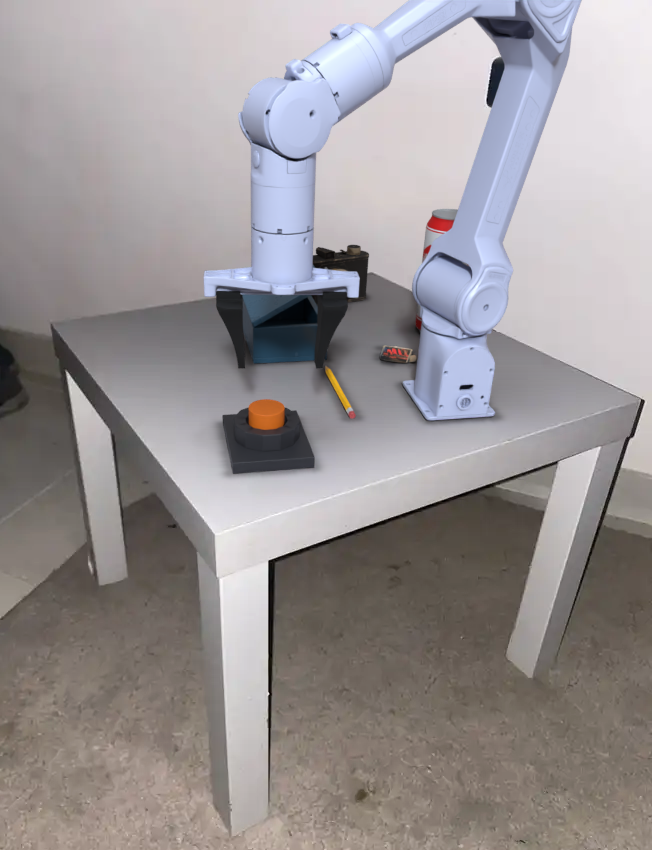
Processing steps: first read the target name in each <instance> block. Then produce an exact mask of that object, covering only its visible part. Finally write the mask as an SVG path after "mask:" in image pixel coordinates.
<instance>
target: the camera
mask: <svg viewBox="0 0 652 850" xmlns="http://www.w3.org/2000/svg"><path fill="white" fill-rule="evenodd" d="M361 248H362V246H361V245H358V244H348V245H347V246H346V250H344V249H339V251H337V252H336V251H335V250H332V249H329V248H326V247H321V246H318V247H316V248H315V254H313V265H314V267H315V268H320V269H328V270H337V271H350V272H357V273H358V275H359V278H360V281H359V296H358V298H350V297H347V302H348V303H353V302H359V301H364V300H365V299H366V298H367V284H368V270H369V258H370V253H369V252H368V251H365V250H362V249H361ZM311 296H312V297H313V299H314V301H315V303H316V304H317V306H318V295H311Z"/></svg>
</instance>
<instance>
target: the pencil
mask: <svg viewBox="0 0 652 850" xmlns="http://www.w3.org/2000/svg"><path fill="white" fill-rule="evenodd" d="M324 369H325V371H324V372H325V374H326V376H327V379H329V382H330V384H331V385H332V388H333V389H334V392H335V393H336V394H337V396H338V398H339V400H340V402H341V403H342V406H343V408H344V409H345V411H346V413H347V416H348V417H349V419H355V418H356V416H357V415H356V413H355V411H354V409H353V407H352V405H351V403H350V402H349V400H348V399H347V396H346V395H345V393H344V391H343V389H342V388H341V386H340V384H339V382H338V380H337V378H336V376H335V375H334V373H333V371H332V368H330V367H328V366H327V365H325V367H324Z"/></svg>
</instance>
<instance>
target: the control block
mask: <svg viewBox="0 0 652 850" xmlns="http://www.w3.org/2000/svg"><path fill="white" fill-rule="evenodd" d="M222 427H223V433H224V437H225V442H226V448H227V452H228V456H229V462H230V467H231V472H232V474H235V475H236V474H248V473H260V472H273V471H274V472H275V471H286V470H287V471H288V470H301V469H302V470H303V469H314V468H315V461H316V460H315V459H316V457H315V454H314V452H313V449H312V446H311V444H310V442H309V438H308V436H307V434H306V431H305V429H304V428H305V427H304V425H303V423H302V421H301V419H300V415H299V413H298V411H297V410H292V409H289V408H288V407H285V421H284V425H283V426H282V427H279V428H277V429H269V430H263V429H258V428H253V427H251V426H250V425H249V406H248V407H246V408H243V409H240V410H239V411H238V412H237V413H231V414H222Z"/></svg>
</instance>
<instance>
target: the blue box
mask: <svg viewBox="0 0 652 850" xmlns="http://www.w3.org/2000/svg"><path fill="white" fill-rule="evenodd" d="M317 314H318V306H317V304H316V303H315V301H314V299H313V297H312V296H311V295H310V296H308V297H307V298H305V299H303V300H301V301H300V302H298V303H296V304H294V305H293V306H291V307H289V308H287V309H286V310H284V311H282V312H280V313H278V314H277V315H275V316H273V317H271V318H270V319H268V320H266V321H264V322H263V323H261V324H259V325H257V326H256V327H254V326H253V324H252V322H251V319H250V316H249V313H248V311H247V308H246V305H245V302H244V299H243V333H244V340H245V341H246V342H245V343H246V345H247V347H248V348H247V349H248V351H249V354H250V356H251V361H252V363H253V364H272V363H291V362H313V361H314V362H315V343H316V334H317ZM327 360H328V352H327V353H326V356H325V360H324V361H327Z"/></svg>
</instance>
